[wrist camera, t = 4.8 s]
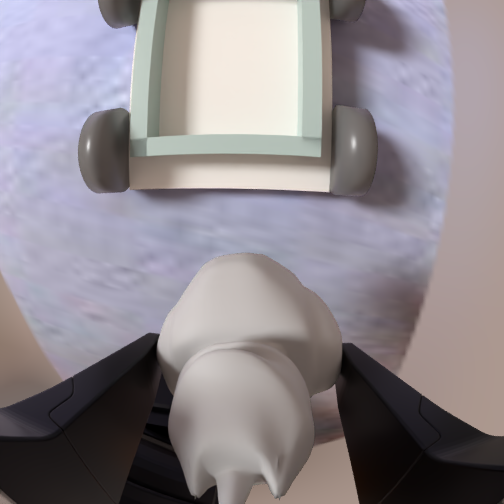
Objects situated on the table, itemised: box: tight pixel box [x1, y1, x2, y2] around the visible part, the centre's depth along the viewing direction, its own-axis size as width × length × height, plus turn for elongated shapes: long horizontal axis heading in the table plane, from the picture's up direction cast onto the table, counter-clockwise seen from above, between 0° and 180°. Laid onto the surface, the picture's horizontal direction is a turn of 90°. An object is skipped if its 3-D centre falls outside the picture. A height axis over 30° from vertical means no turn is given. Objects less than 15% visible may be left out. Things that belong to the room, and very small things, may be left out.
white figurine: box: [156, 253, 342, 504], centre depth 7 cm, size 5×7×8 cm
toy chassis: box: [78, 0, 378, 197], centre depth 14 cm, size 16×15×5 cm
